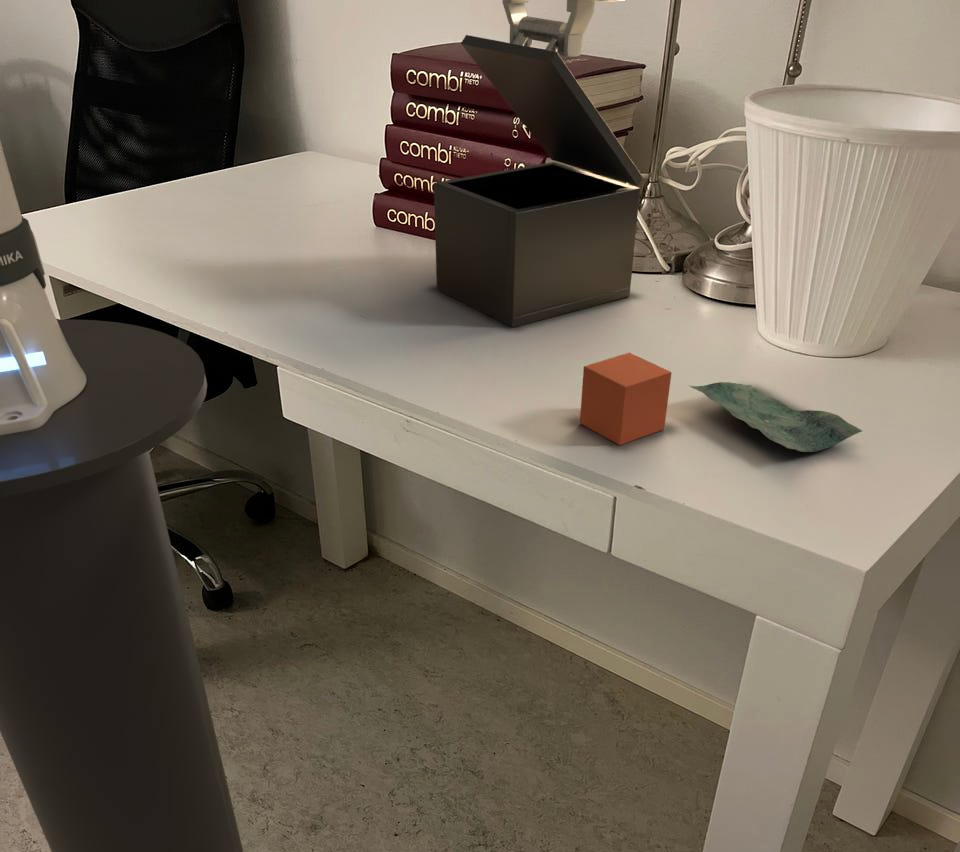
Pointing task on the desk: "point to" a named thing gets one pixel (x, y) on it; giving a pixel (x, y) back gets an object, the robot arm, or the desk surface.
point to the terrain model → (780, 418)
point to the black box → (534, 241)
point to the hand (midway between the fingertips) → (544, 51)
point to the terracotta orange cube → (624, 398)
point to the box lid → (551, 100)
